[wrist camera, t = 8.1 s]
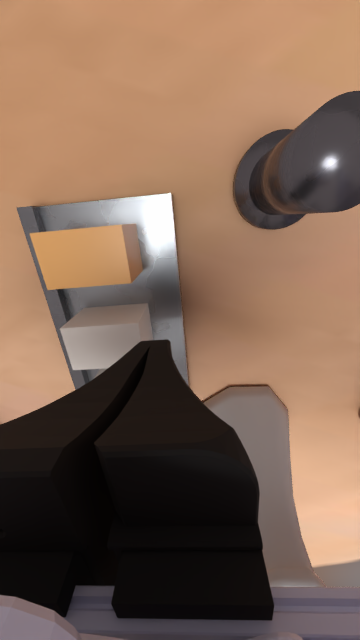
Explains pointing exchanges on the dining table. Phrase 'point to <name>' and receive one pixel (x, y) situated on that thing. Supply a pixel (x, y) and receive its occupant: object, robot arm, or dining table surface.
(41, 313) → the dining table surface
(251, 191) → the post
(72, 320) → the toggle mid
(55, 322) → the panel
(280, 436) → the flask
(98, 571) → the robot arm
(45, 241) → the toggle orange
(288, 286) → the dining table surface
